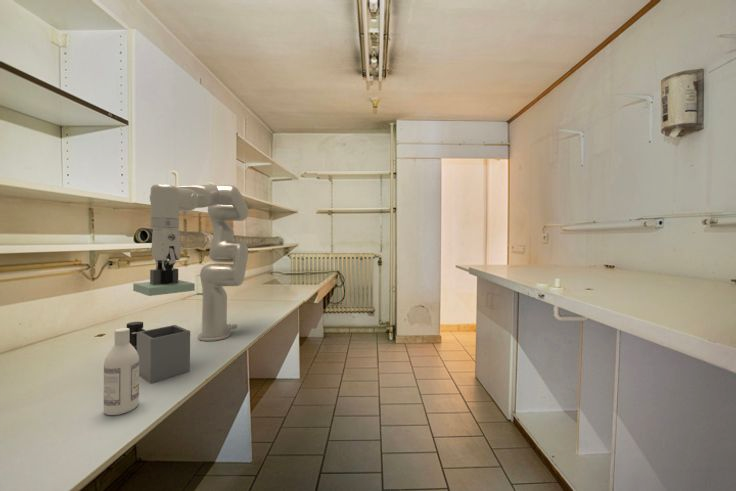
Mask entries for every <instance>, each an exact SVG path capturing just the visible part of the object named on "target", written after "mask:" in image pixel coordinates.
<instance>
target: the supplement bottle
mask: <svg viewBox="0 0 736 491" xmlns="http://www.w3.org/2000/svg"><path fill="white" fill-rule="evenodd" d="M125 328H129V329H130V339H129V343H130V344H131V345H132V346H133V347H134V348H135V349H136V351H137V332H141V331H146V330H145V329H144V322H143V321H131V322H128V323H126V327H125Z"/></svg>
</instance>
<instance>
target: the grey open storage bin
mask: <svg viewBox="0 0 736 491" xmlns="http://www.w3.org/2000/svg"><path fill="white" fill-rule="evenodd" d="M163 335H165V336H163ZM137 353H138V356H139V377H140V378H142V379H144V380H145V381H146V382H148V384H153V383H156V382H160V381H162V380H166V379H169V378H172V377H175V376H179V375H182V374H185V373H188V372H190V371H191V330H189V329H186V328H183V327H182V326H179V325H177V324H172V325H166V326H162V327H158V328H157V327H156V328H152V329H147V330H146V331H141V332H137Z"/></svg>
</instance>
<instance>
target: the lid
mask: <svg viewBox="0 0 736 491" xmlns="http://www.w3.org/2000/svg"><path fill="white" fill-rule="evenodd" d="M161 271H163V270H162V269H156V268H154V269H150V270H149V281H145V282H134V283H133V284H132V286H133V289H132V290H133V292H136V293H139V294H141V295H144V296H147V297H148V296H149V297H152V296H153V297H154V296H160V295H170V294H177V293H185V292H186V293H187V292H195V290H196V289H195V287H196V286H195V284H196V283H195V282H190V281H189V282H188V281H184V280H181V279H179V268H176V267H173V282H172V283H166V284H161Z"/></svg>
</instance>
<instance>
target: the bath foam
mask: <svg viewBox="0 0 736 491" xmlns="http://www.w3.org/2000/svg"><path fill="white" fill-rule="evenodd" d="M129 339H130V329H129V328H126V327H121V328H117V329H115V330H114V345H113V346H112V347H111V349H110V350H109V352H108V353H107V355H106V356H105V359H104V364H103V414H105V415H107V416H118V415H123V414H126V413H128V412H131V411H132V410H134V409H135V408H137V406H138V405H139V403H140V400H139V399H140V376H139V356H138V353H137V351H136V349H135V348H134V347H133V346H132V345H131V344H130V343H129Z"/></svg>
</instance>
